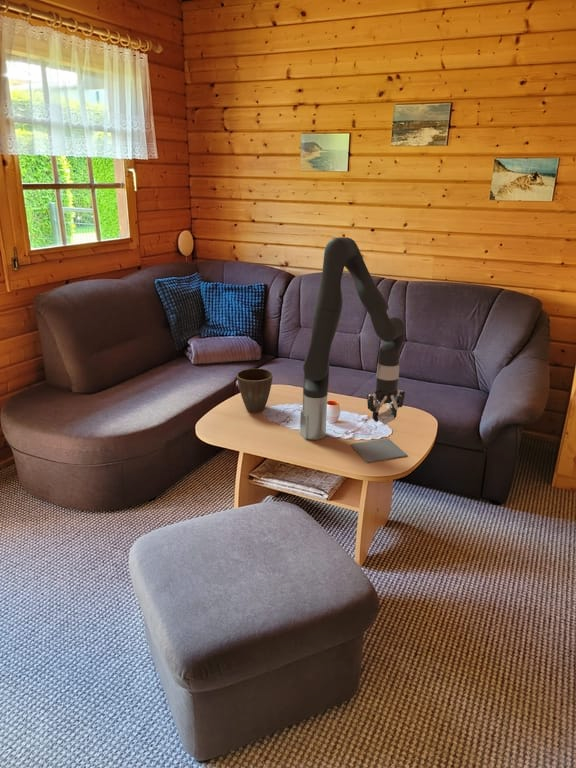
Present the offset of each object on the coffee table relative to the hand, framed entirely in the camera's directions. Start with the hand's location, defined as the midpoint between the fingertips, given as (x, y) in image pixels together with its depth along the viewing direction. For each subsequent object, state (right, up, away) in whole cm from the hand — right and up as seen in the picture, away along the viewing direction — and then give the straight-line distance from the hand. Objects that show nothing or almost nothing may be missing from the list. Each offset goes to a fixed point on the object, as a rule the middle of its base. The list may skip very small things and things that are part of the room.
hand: (384, 419), depth 197 cm
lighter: (+2, +1, -7) cm, 7 cm away
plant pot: (-48, +2, +39) cm, 62 cm away
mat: (-1, -12, +6) cm, 13 cm away
